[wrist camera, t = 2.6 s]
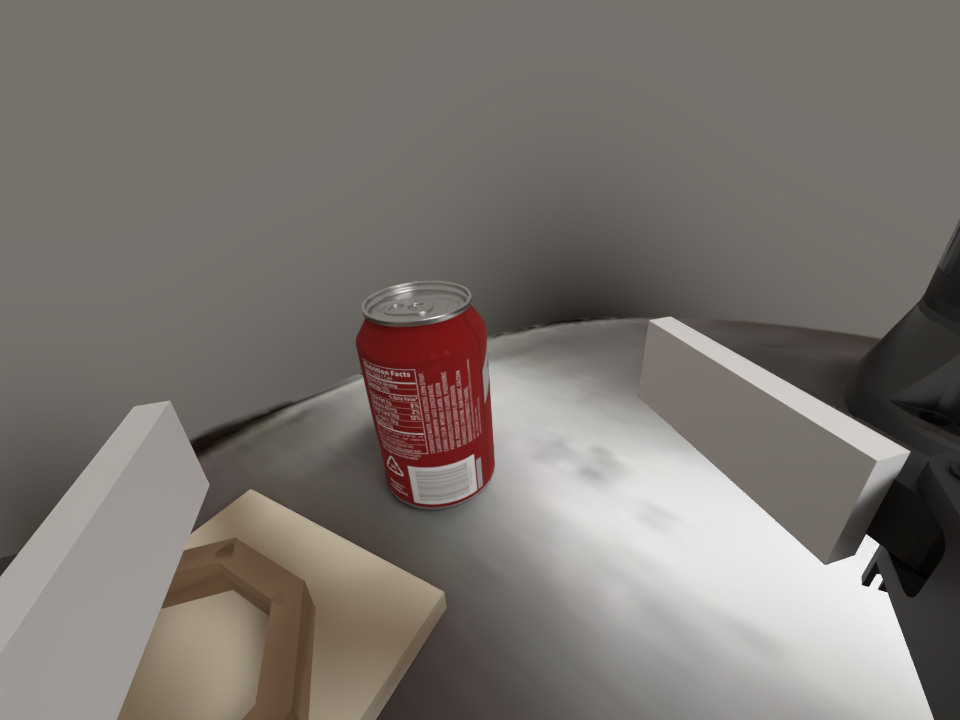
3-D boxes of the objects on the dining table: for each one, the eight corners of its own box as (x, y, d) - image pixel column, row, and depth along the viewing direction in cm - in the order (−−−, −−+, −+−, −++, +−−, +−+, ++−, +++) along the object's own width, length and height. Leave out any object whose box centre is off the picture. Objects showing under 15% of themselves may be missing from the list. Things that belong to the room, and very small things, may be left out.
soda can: (494, 517, 24) (481, 323, 19) (377, 519, 25) (328, 330, 19) (495, 439, 30) (485, 273, 24) (400, 442, 31) (368, 279, 25)
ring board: (256, 502, 26) (239, 463, 25) (446, 607, 20) (439, 562, 18) (-266, 916, 13) (-375, 887, 12) (-204, 1637, 7) (-428, 1788, 5)
